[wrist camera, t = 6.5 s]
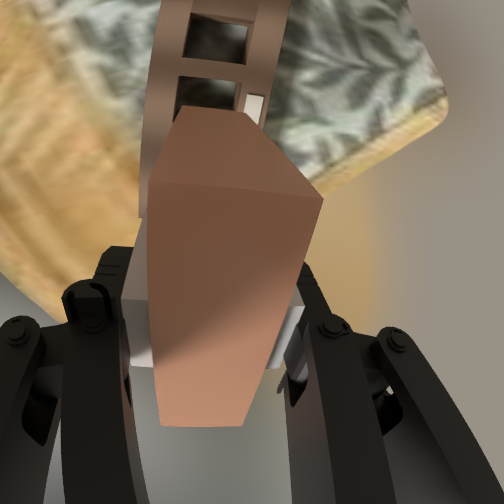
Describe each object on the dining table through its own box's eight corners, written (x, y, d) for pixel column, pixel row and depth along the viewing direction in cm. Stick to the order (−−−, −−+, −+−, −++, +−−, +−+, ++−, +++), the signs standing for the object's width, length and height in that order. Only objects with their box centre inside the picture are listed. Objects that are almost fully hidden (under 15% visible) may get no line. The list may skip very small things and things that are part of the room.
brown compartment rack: (185, -61, 14) (183, -78, 11) (291, -45, 16) (305, -58, 13) (144, 199, 27) (138, 218, 24) (238, 207, 29) (243, 226, 26)
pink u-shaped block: (182, 105, 13) (148, 180, 5) (245, 112, 13) (323, 199, 5) (168, 263, 18) (160, 425, 9) (219, 266, 18) (241, 425, 10)
